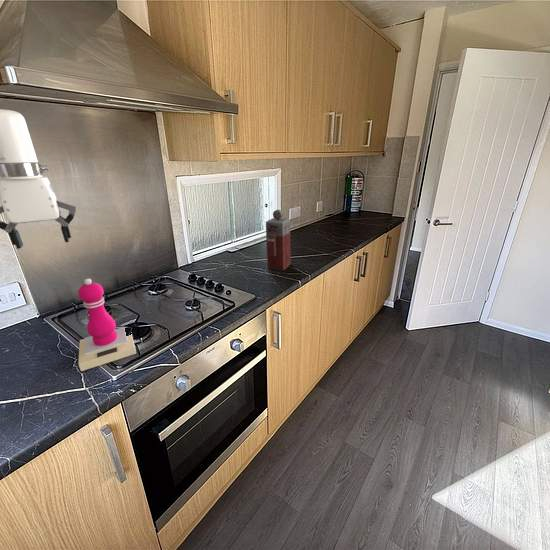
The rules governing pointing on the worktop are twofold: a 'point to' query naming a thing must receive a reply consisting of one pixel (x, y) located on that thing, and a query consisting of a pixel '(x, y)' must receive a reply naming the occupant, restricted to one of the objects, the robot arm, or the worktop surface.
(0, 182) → the robot arm
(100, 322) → the pepper mill
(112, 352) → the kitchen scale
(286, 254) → the red square decanter
